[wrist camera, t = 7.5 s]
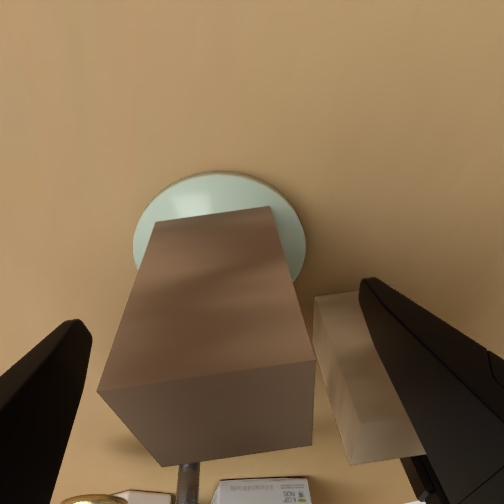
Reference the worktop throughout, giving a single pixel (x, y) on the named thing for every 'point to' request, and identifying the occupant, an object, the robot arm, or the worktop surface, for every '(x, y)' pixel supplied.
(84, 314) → the worktop surface
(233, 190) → the dish
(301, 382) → the block walnut
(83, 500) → the balance
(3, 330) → the worktop surface
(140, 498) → the jar
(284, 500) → the tea box
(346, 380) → the block beech
